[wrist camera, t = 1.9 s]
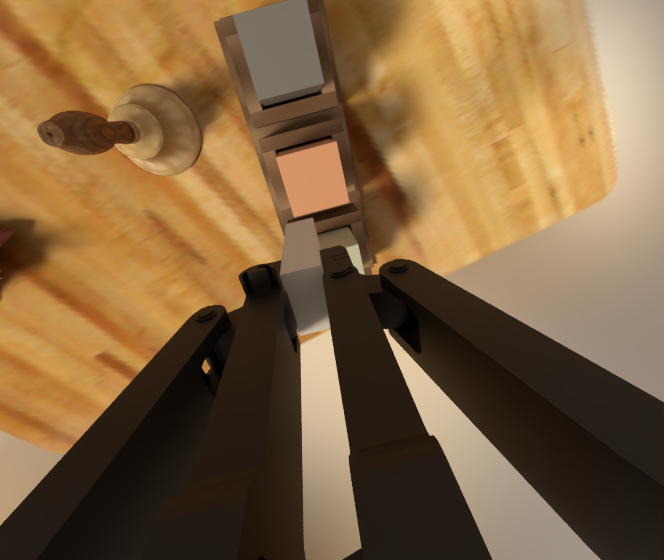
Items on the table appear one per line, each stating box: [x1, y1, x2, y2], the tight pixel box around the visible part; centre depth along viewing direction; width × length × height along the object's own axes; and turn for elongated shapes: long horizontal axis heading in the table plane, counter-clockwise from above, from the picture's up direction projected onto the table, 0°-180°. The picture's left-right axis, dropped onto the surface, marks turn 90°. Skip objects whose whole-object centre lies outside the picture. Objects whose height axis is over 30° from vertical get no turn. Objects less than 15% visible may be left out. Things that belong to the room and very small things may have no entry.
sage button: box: [317, 226, 365, 275], centre depth 32 cm, size 5×5×6 cm
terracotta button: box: [276, 139, 349, 217], centre depth 28 cm, size 5×5×6 cm
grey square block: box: [233, 0, 324, 106], centre depth 24 cm, size 5×5×6 cm
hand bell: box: [37, 85, 201, 175], centre depth 24 cm, size 8×8×16 cm
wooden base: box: [214, 0, 374, 275], centre depth 32 cm, size 28×10×5 cm, turn 13°
